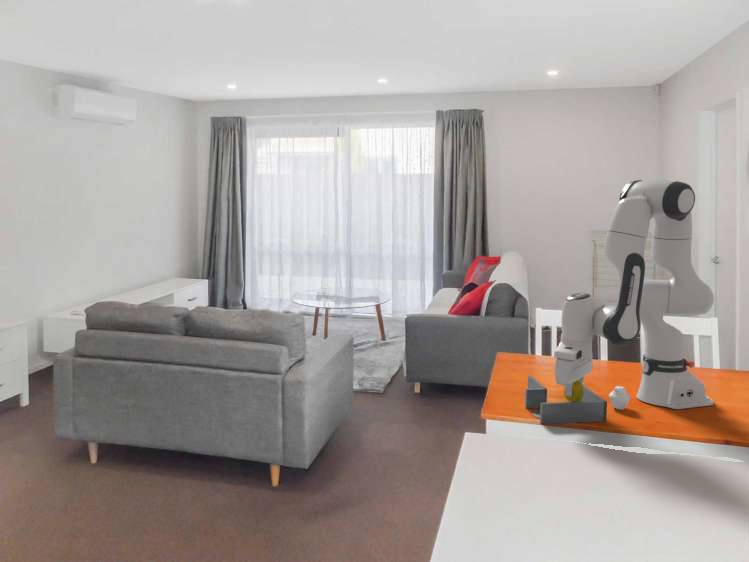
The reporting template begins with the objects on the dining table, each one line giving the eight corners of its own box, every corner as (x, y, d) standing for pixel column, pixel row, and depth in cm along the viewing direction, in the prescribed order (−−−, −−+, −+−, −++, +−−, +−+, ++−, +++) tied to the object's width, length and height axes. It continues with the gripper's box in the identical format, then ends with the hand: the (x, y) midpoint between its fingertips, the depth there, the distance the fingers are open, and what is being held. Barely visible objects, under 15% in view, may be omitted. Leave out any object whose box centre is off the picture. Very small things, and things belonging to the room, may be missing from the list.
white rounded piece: (604, 404, 192) (606, 383, 191) (623, 404, 192) (624, 382, 191) (614, 411, 186) (615, 389, 185) (633, 411, 186) (634, 388, 185)
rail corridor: (568, 391, 204) (568, 374, 204) (606, 421, 177) (607, 401, 176) (511, 393, 203) (512, 376, 202) (541, 423, 176) (541, 403, 175)
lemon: (584, 408, 180) (585, 381, 179) (564, 406, 181) (565, 380, 180) (581, 401, 186) (582, 376, 184) (562, 400, 187) (563, 375, 186)
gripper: (578, 340, 191) (577, 382, 193) (551, 352, 175) (549, 399, 177) (599, 343, 187) (596, 386, 189) (573, 356, 171) (570, 403, 173)
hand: (573, 392), depth 183 cm, fingers closed on lemon, 5 cm apart
